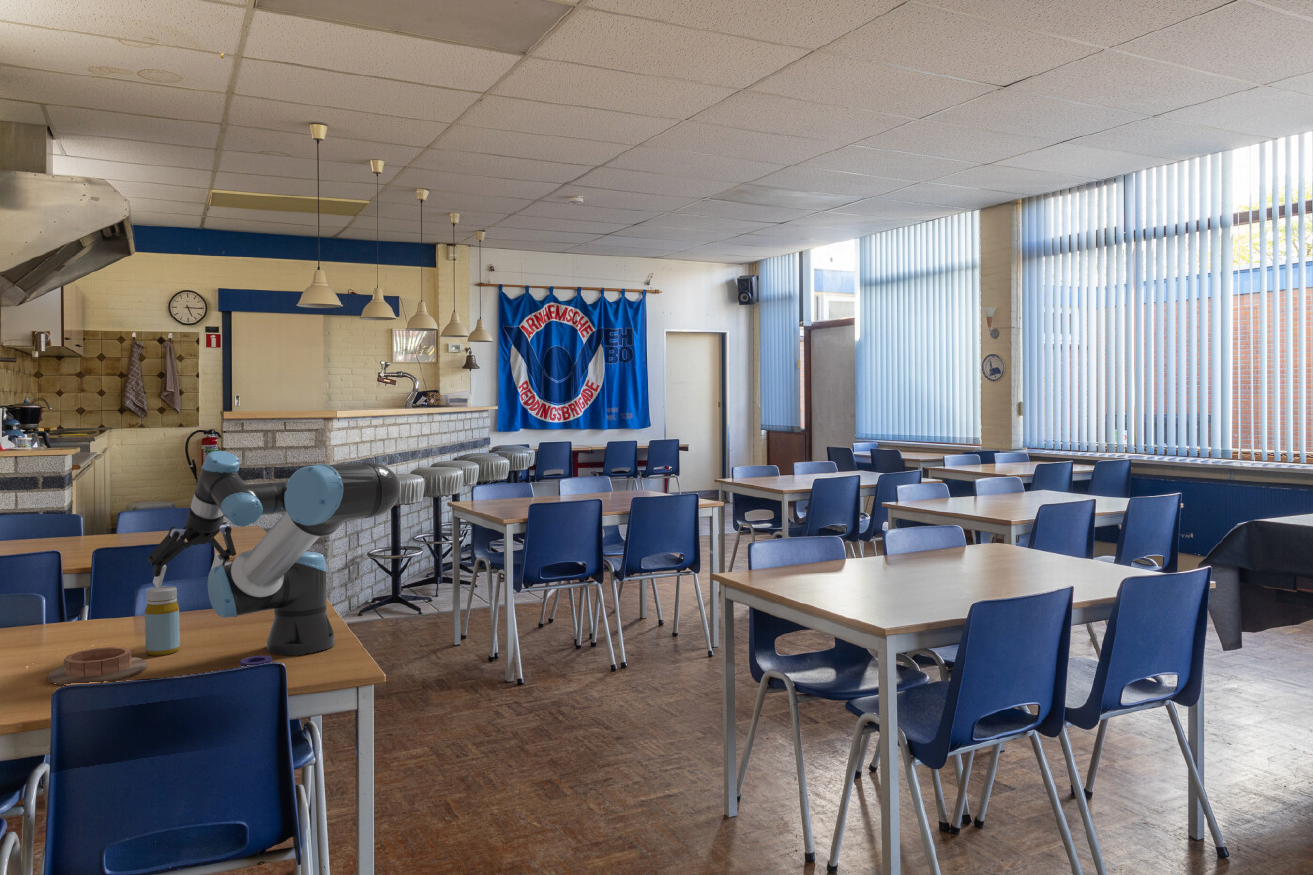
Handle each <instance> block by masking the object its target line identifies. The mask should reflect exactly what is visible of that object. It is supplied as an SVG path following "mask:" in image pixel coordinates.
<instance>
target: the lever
mask: <svg viewBox="0 0 1313 875" xmlns="http://www.w3.org/2000/svg"><path fill="white" fill-rule="evenodd" d="M239 662H240V665H239V666H240V667H241V666H247V665H259V664H264V663H270V662H272V663H273V657H272V656H270V655H254V656H248V657H244V658H241V660H240V661H239ZM240 667H239V668H240Z"/></svg>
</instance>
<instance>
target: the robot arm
mask: <svg viewBox="0 0 1313 875" xmlns="http://www.w3.org/2000/svg"><path fill="white" fill-rule="evenodd" d="M240 464H241V462H240V459H239V458H238V456H236V455H235V454H234V453H231V452H229V451H224V450H214V451H210V452H208V454H206V455H205V457H204V461H203V464H202V465H201V468H200V473H199V476H198V479H197V484H196V487H195V491H194V493H193V496H192V500H191V504H190V507H189V510H188V513H187V516H186V520H185V521H186V522H185V526H184V527H183V528H176V526H172V527H170V529H169V531H168V533H167V535H166V536H165V537H164V538H163V540H162V541H161V542H160V543H159V544H158V545H157V546H156V548H155V549H154V550H153V551H152V552H151V553H150V554H149V555H148V556H147V560H148V563H150V565H151V566H152V567H153V569H152V574H153V576H154V577H153V580H152V583H153V585H154V586H155V587H154V588H156V587H162V585H163V582H164V578H165V574H166V571H167V567H168V566H167V565H166V564H168V563H169V562H170V561H172V560H173V559H175V557H177V556H178V555H179V554H180V553H181V552H183V550H185V549H189V548H190V547H191V546H197V545H206V544H207V543H209V542H210V544H211V545H212V546H213V548H214V549H215V550H216V551H217V552H218V553H215V555H214V558H213V562H212V565H211V568H210V571H209V573H208V576H207V593H208V598H209V602H210V605H211V607H212V609H213V611H214V612H215V613H216V614H217V615H218V616H219V617H220V618H225V619H226V618H236V617H239V616H243V615H249V614H254V613H255V614H256V613H260V612H264V611H265V612H266V611H271V610H274V612H273V613H274V617H273V620H272V624H271V626H270V631H269V634H268V636H267V640H266V652H268V654H273V655H276V656H277V655H279V656H298V655H299V656H300V655H307V654H306V653H309V654H313V653H312V652H315V653H318V652H317V651H319V652H322V651H321V650H323V651H326V650H329V649H331V648H333V646H335V642H336V641H335V633H334V630H333V628H332V627H333V626H332V625H331V621H330V620H329V619H330V618H329V617H328V614H327V573H328V570H327V565H326V564H327V563H326V558H325V556H324V555H323V554H322V553H320V552H314V551H308V550H309V549H310V548H311V547H312V546H313V544H314V543H315V542H316V541H317V540H318V539H319V538H320V537H321V538H322V537H328V536H331V535H332V534H334V533H335V532H336V531H337V530H338V529H339V528H340V527H341V526H342V525H343V524H344V523H345V522H347V521H353V520H362V519H370V518H377V517H380V516H382V515H384V514H386V513H388V512H389V511H390V510H391V509H392V508H393V507H394V506H395V505H396V503H397V502H398V499H399V498H400V494H401V493H400V492H401V486H400V482H399V479H398V477H397V474H395V472H393V471H392V470H391V469H390V468H389V467H387V466H386V465H383V464H380V463H377V462H357V463H340V464H339V463H338V464H324V463H319V464H312V465H310V466H309V465H308V466H303V467H301V468H299V469H297V470H296V471H295V472H293V473H292V475H291V476H290V477H289V479H288V480H287V481H275V482H272V481H271V482H260V483H257V482H256V483H245V482H244V480H243V479H242V478H241V477H240V476H239V474H238V472H239V470H240ZM273 514H282V516H280V518H279V519H278V520H277V522H275V524H274V525H273V526H272V527H271V528H270V530H268V531H267V533H266V534H265V535H264V536H263V537H262V539H261V540H260V541H259V542H258V543H257V544H256V545H255V546H254V547H253V549H250V550H246V551H243V552H241V553H239V555H237V552H236V548H235V545H234V542H233V538H232V535H231V534H232V530H233V529H232V527H231V526H230V525H229V523H228V522H227V521H225V522H223V519H224V517H226V518H227V519H228V520H229V521H230V523H231V524H232V525H235V526H236V527H247V526H249V525H250V524H255V522H257V521H258V520H259V519H260V518H261V516H266V515H273ZM219 533H221V535H222V537H223V541H224V544H225V547H226V549H224V548H223V547H222V546H221V544H220V543H219V542H218V541H217V539H216V538H215V537H216V536H217V535H218V534H219ZM235 556H236V557H235ZM231 557H235V558H234V559H233V560H232V562H231V563H229V564H226V562H228V561H229V560H231ZM325 649H326V650H325Z"/></svg>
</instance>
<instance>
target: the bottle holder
mask: <svg viewBox="0 0 1313 875" xmlns="http://www.w3.org/2000/svg"><path fill="white" fill-rule="evenodd" d="M146 669H147V661H146V659H143V658H140V657H136V656H135V657H133V656H132V649H130V648H127V647H122V646H121V647H120V646H108V647H106V646H105V647H96V648H91V649H85V650H80V651H77V652H74V653H70V654H69V655H66V657H64V659H63V665H62V666H59V667H57V668H55V669H53V670H51V671H50V672H48V675H47V676H48V678H47V679H48V680H49V681H50V682H52V683H56V684H59V685H58V686H64V684H71V683H89V682H104V681H112V682H115V680H116V681H121V680H124V679H127V678H130V677H134V676H136V675H138V674H141V673H142V672H144V671H145V670H146ZM49 681H48V682H49ZM50 682H49V683H50ZM52 683H51V684H52ZM56 684H55V685H56Z"/></svg>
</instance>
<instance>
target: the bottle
mask: <svg viewBox="0 0 1313 875" xmlns="http://www.w3.org/2000/svg"><path fill="white" fill-rule="evenodd" d="M177 590H178V589H177V587H176V586H169V585H168V586H167V585H166V586H161V587H151V588H148V589H147V590H146V606H145V610H144V625H145V626H144V630H145V631H144V632H145V633H144V634H145V638H144V639H145V652H146V654H147V655H149V656H152V657H157V656H158V657H161V656H168V655H171V654H174V653H175V654H176V653H177V652H178V651H179V650H180V647H181V646H180V644H181V643H180V636H181V635H180V606H179V604H178V598H177V596H178V592H177Z"/></svg>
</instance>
